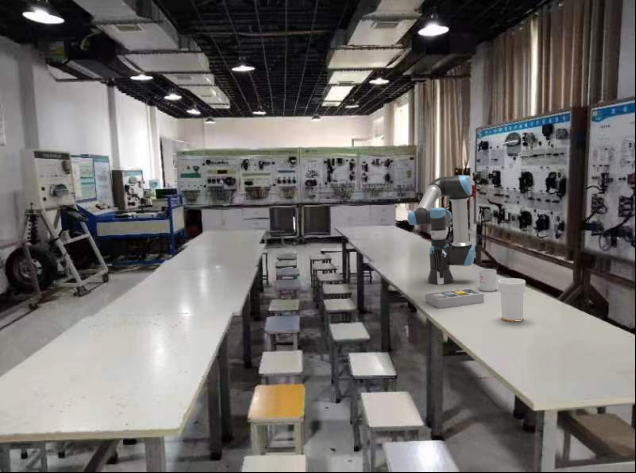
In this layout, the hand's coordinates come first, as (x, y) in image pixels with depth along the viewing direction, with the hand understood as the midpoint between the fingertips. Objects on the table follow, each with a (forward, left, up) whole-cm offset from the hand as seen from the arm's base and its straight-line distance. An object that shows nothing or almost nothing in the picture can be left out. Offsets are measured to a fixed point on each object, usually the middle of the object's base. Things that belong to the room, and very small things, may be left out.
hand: (440, 283), depth 242 cm
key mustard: (0, +11, -8) cm, 13 cm away
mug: (-16, +36, -11) cm, 41 cm away
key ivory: (0, -1, -8) cm, 8 cm away
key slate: (0, +5, -8) cm, 9 cm away
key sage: (0, +17, -10) cm, 19 cm away
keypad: (0, +8, -11) cm, 13 cm away
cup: (+36, +17, -11) cm, 41 cm away
